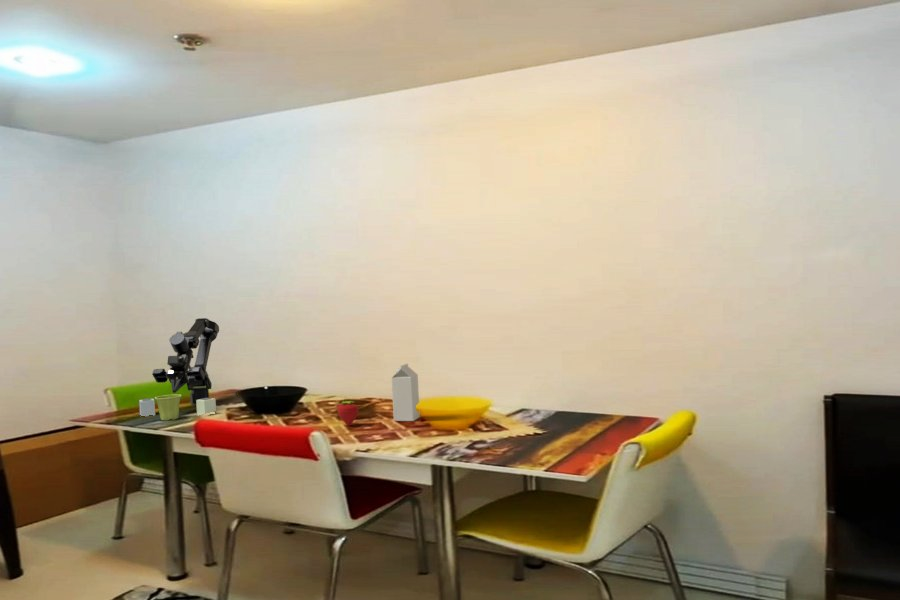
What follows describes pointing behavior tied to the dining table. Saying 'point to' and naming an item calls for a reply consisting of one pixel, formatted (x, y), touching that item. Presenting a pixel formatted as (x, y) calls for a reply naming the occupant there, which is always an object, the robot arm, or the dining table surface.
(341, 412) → the strawberry
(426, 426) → the dining table surface
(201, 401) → the sage block
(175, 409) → the plant pot
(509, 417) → the dining table surface
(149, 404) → the slate block
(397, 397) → the milk carton
